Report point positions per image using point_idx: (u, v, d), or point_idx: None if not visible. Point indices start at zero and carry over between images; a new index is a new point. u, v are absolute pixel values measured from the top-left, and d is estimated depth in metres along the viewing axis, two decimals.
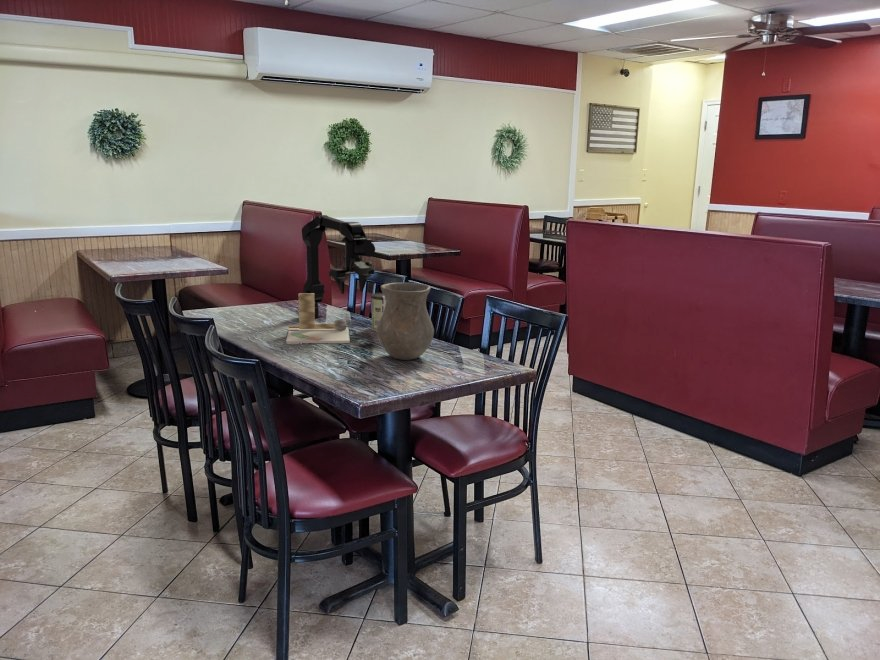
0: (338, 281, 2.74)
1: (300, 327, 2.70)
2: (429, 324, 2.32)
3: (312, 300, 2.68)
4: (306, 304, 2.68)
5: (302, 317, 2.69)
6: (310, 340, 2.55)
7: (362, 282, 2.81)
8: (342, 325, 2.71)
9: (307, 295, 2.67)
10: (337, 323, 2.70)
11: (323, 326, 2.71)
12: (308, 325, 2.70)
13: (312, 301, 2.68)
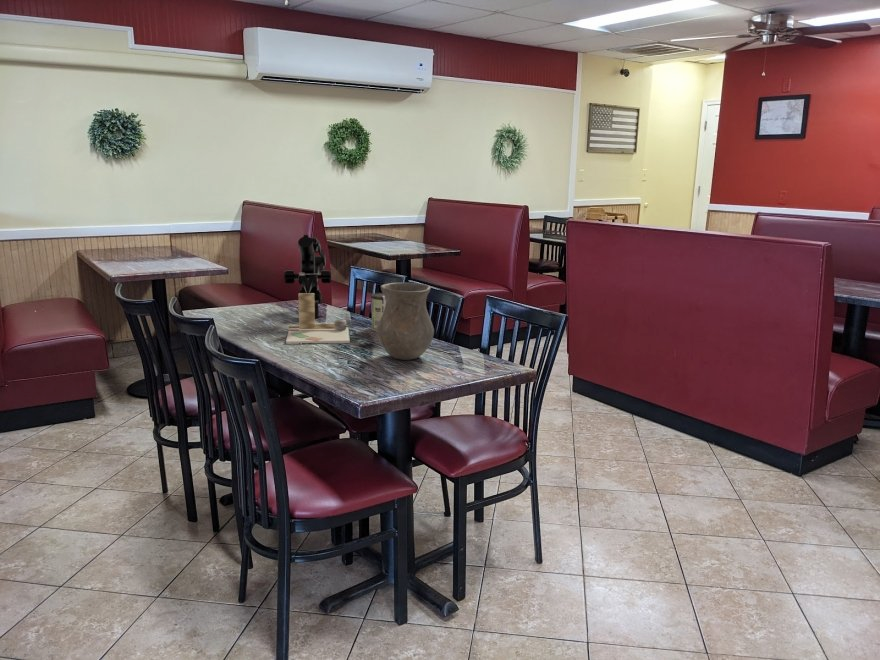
0: None
1: (300, 327, 2.70)
2: (429, 324, 2.32)
3: (312, 300, 2.68)
4: (306, 304, 2.68)
5: (302, 317, 2.69)
6: (310, 340, 2.55)
7: None
8: (342, 325, 2.71)
9: (307, 295, 2.67)
10: (337, 323, 2.70)
11: (323, 326, 2.71)
12: (308, 325, 2.70)
13: (312, 301, 2.68)
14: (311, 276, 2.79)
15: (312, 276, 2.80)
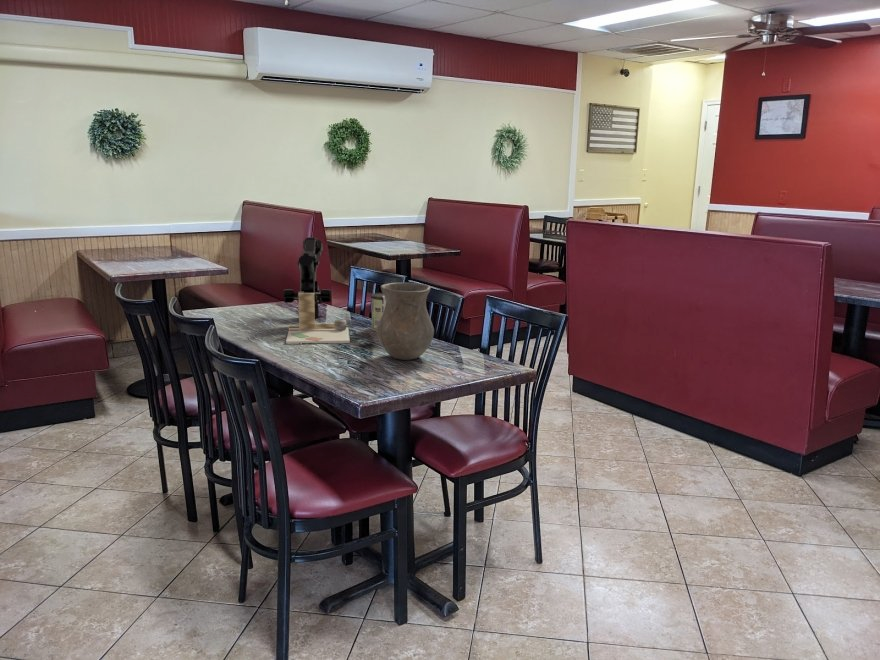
0: None
1: (300, 327, 2.70)
2: (429, 324, 2.32)
3: (312, 300, 2.68)
4: (306, 304, 2.68)
5: (302, 317, 2.69)
6: (310, 340, 2.55)
7: None
8: (342, 325, 2.71)
9: (307, 295, 2.67)
10: (337, 323, 2.70)
11: (323, 326, 2.71)
12: (308, 325, 2.70)
13: (312, 301, 2.68)
14: None
15: None
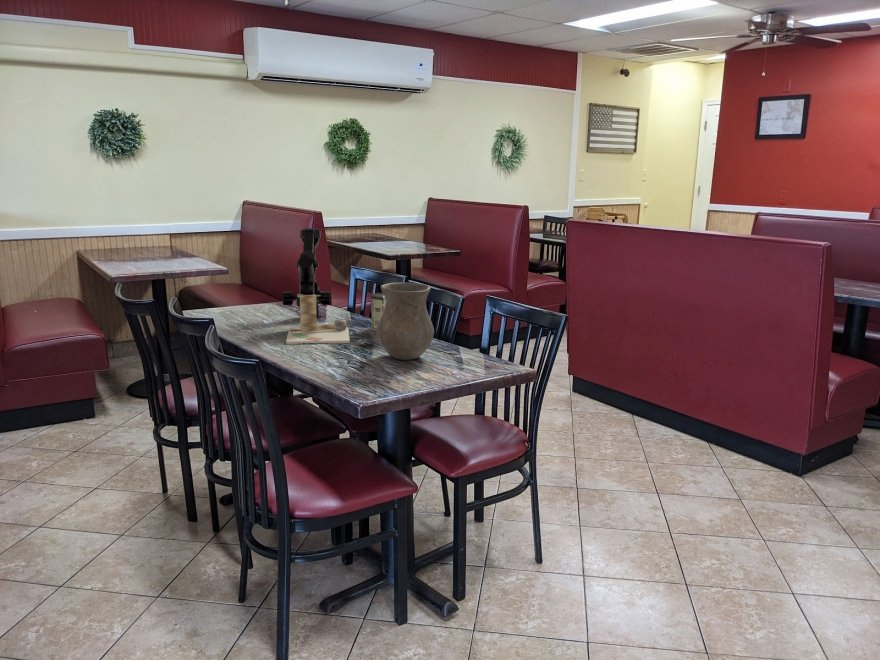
0: None
1: (302, 330, 2.65)
2: (429, 324, 2.32)
3: (314, 302, 2.65)
4: (308, 306, 2.64)
5: (304, 320, 2.64)
6: (310, 340, 2.55)
7: None
8: (344, 324, 2.71)
9: (309, 297, 2.63)
10: (339, 323, 2.70)
11: (324, 327, 2.69)
12: (310, 327, 2.66)
13: (314, 303, 2.65)
14: None
15: None
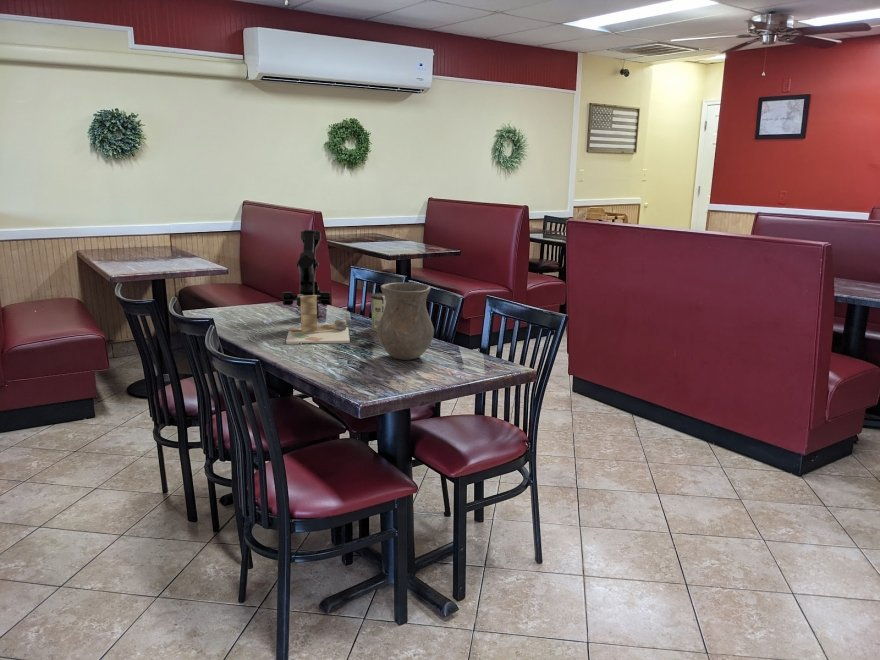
0: None
1: (303, 330, 2.64)
2: (429, 324, 2.32)
3: (314, 302, 2.64)
4: (308, 307, 2.63)
5: (305, 320, 2.64)
6: (310, 340, 2.55)
7: None
8: (344, 324, 2.71)
9: (310, 297, 2.63)
10: (339, 323, 2.70)
11: (325, 327, 2.69)
12: (311, 328, 2.66)
13: (314, 303, 2.64)
14: None
15: None
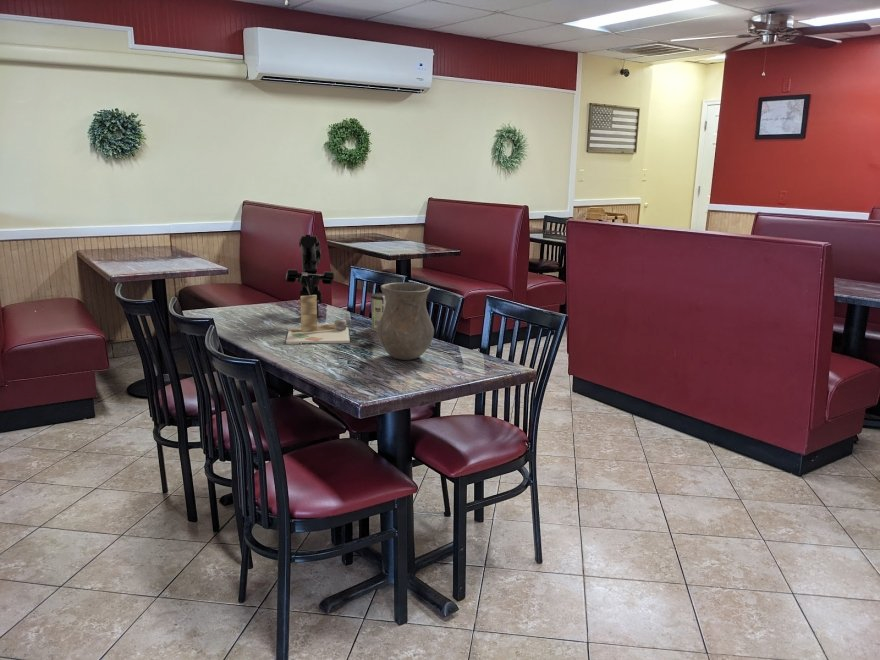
0: None
1: (303, 330, 2.64)
2: (429, 324, 2.32)
3: (314, 302, 2.64)
4: (308, 307, 2.63)
5: (305, 320, 2.64)
6: (310, 340, 2.55)
7: None
8: (344, 324, 2.71)
9: (310, 297, 2.63)
10: (339, 323, 2.70)
11: (325, 327, 2.69)
12: (311, 328, 2.66)
13: (314, 303, 2.64)
14: (315, 277, 2.78)
15: (316, 277, 2.79)
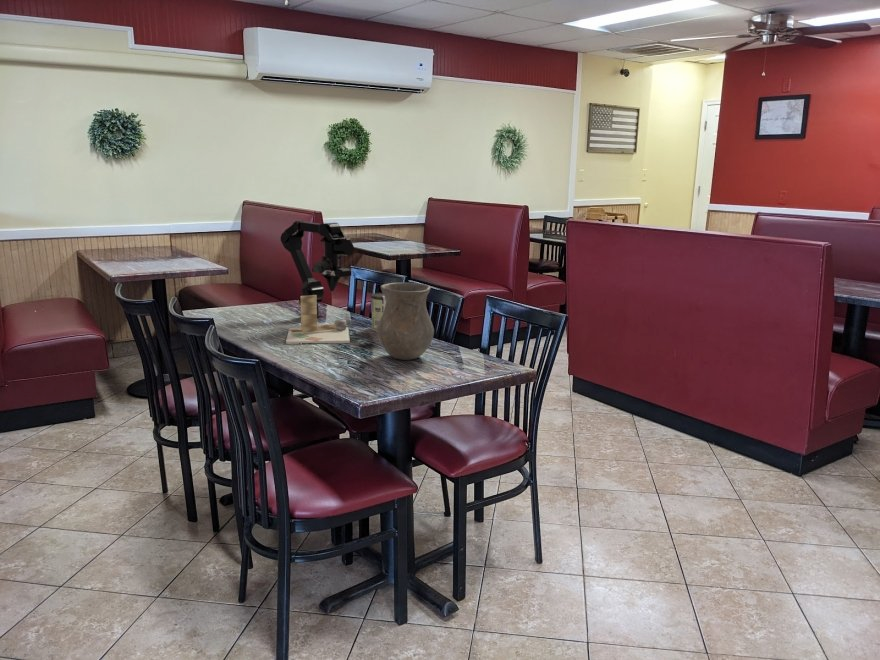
0: None
1: (303, 330, 2.64)
2: (429, 324, 2.32)
3: (314, 302, 2.64)
4: (308, 307, 2.63)
5: (305, 320, 2.64)
6: (310, 340, 2.55)
7: None
8: (344, 324, 2.71)
9: (310, 297, 2.63)
10: (339, 323, 2.70)
11: (325, 327, 2.69)
12: (311, 328, 2.66)
13: (314, 303, 2.64)
14: None
15: None
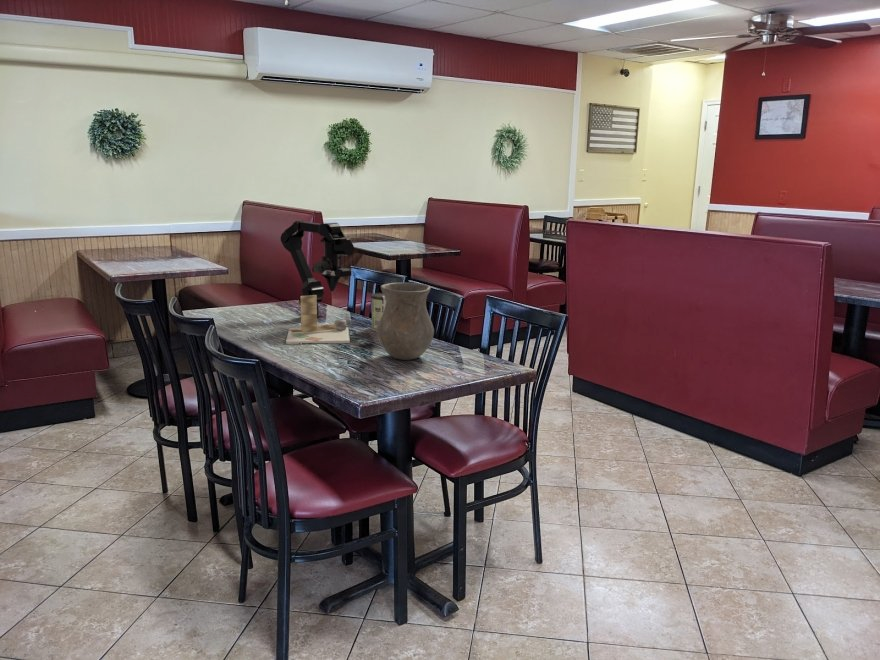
0: None
1: (303, 330, 2.64)
2: (429, 324, 2.32)
3: (314, 302, 2.64)
4: (308, 307, 2.63)
5: (305, 320, 2.64)
6: (310, 340, 2.55)
7: None
8: (344, 324, 2.71)
9: (310, 297, 2.63)
10: (339, 323, 2.70)
11: (325, 327, 2.69)
12: (311, 328, 2.66)
13: (314, 303, 2.64)
14: None
15: None
